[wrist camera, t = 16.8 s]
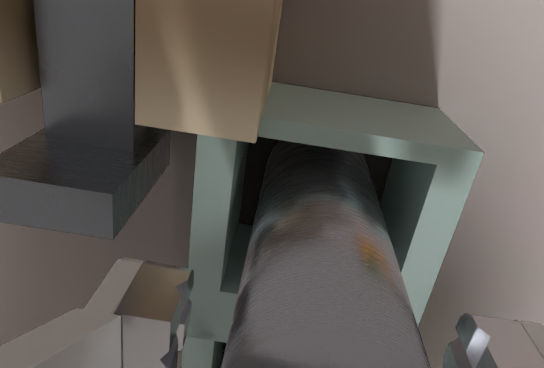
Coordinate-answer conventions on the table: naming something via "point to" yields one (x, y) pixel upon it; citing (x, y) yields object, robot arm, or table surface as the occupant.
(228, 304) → the rack
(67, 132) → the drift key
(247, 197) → the table surface
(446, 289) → the table surface
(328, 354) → the grey metal cylinder
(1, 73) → the socket block
